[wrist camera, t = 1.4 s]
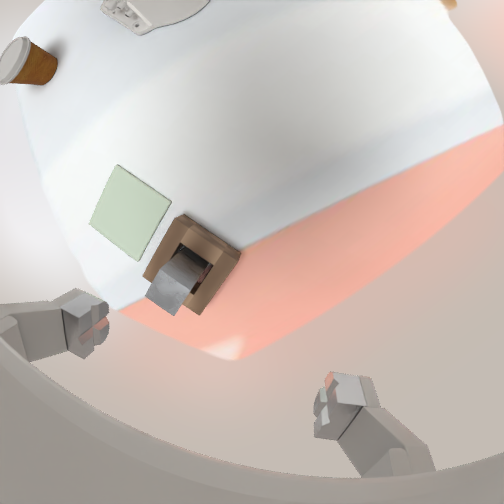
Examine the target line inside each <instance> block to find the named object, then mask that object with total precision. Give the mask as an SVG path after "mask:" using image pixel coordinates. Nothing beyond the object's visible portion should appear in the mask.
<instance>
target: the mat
mask: <svg viewBox="0 0 504 504" xmlns="http://www.w3.org/2000/svg"><path fill="white" fill-rule="evenodd" d="M170 204H171V201H170V200H168V199H167V198H165V197H164V196H163V195H161V194H160V193H158V192H157V191H155V190H154V189H152V188H151V187H149V186H148V185H147V184H145V183H144V182H142V181H141V180H139V179H138V178H136V177H135V176H134V175H132V174H131V173H129V172H128V171H126V170H125V169H123V168H122V167H120V166H119V165H116V166H115V168H114V170H113V172H112V174H111V176H110V178H109V180H108V182H107V184H106V186H105V188H104V190H103V192H102V195H101V197H100V199H99V201H98V203H97V206H96V208H95V210H94V213H93V215H92V218H91V220H90V222H89V225H91V226H92V227H93V228H94V229H96V230H97V231H98V232H99V233H101V234H102V235H103V236H104V237H106V238H107V239H108V240H109V241H111V242H112V243H113V244H115V245H116V246H117V247H118V248H120V249H121V250H122V251H124V252H125V253H126V254H128V255H129V256H130V257H132V258H133V259H134V260H136V261H137V262H138V261H139V260H140V258H141V257H142V255H143V253H144V251H145V249H146V247H147V245H148V243H149V241H150V239H151V238H152V236H153V234H154V232H155V230H156V228H157V227H158V225H159V223H160V221H161V220H162V218H163V216H164V214H165V213H166V211H167V209H168V207H169V206H170Z"/></svg>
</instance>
